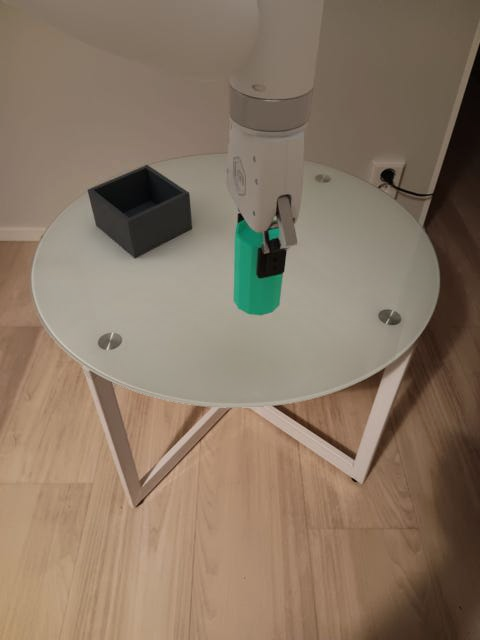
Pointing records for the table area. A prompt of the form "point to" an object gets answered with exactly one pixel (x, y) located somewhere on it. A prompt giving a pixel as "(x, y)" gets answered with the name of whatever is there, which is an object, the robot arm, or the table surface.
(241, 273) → the candle
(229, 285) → the table surface
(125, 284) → the table surface
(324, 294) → the table surface
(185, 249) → the table surface
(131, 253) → the bin
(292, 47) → the robot arm
